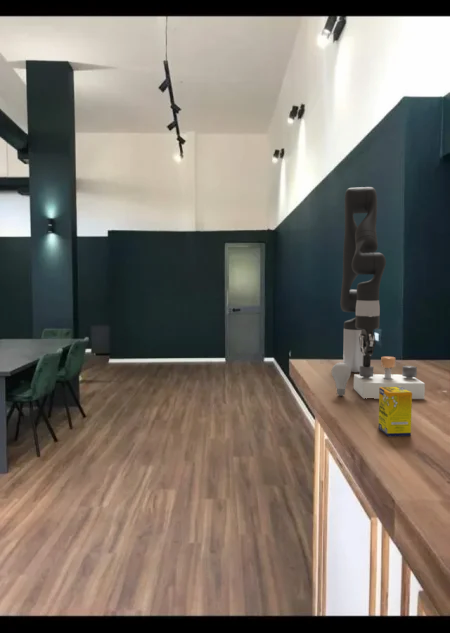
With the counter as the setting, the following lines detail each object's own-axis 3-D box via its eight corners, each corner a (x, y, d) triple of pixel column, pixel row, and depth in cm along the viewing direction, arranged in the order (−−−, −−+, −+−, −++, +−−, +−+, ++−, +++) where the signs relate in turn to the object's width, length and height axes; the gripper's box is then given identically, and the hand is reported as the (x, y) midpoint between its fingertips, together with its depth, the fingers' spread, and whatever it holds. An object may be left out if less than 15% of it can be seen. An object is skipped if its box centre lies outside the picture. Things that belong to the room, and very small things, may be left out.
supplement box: (377, 429, 124) (378, 386, 123) (400, 428, 124) (401, 386, 123) (387, 436, 118) (388, 392, 117) (411, 436, 118) (412, 391, 117)
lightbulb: (351, 394, 160) (351, 361, 159) (349, 399, 154) (350, 364, 153) (332, 393, 162) (332, 360, 161) (330, 397, 156) (330, 363, 155)
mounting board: (353, 388, 169) (353, 374, 168) (409, 388, 168) (409, 374, 168) (363, 398, 155) (363, 383, 154) (424, 399, 154) (424, 383, 154)
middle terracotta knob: (379, 381, 163) (379, 356, 163) (392, 381, 163) (393, 356, 163) (382, 384, 159) (383, 358, 158) (396, 384, 159) (397, 358, 158)
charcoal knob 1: (357, 390, 164) (358, 365, 163) (371, 390, 164) (371, 365, 163) (360, 393, 160) (361, 367, 159) (374, 393, 159) (375, 367, 159)
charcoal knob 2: (400, 390, 163) (400, 365, 163) (413, 390, 163) (414, 365, 163) (404, 393, 159) (404, 368, 158) (418, 393, 159) (418, 368, 158)
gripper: (351, 312, 166) (350, 363, 168) (360, 315, 153) (359, 370, 155) (373, 312, 166) (372, 363, 167) (384, 315, 153) (383, 370, 154)
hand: (366, 366), depth 161 cm, fingers closed
